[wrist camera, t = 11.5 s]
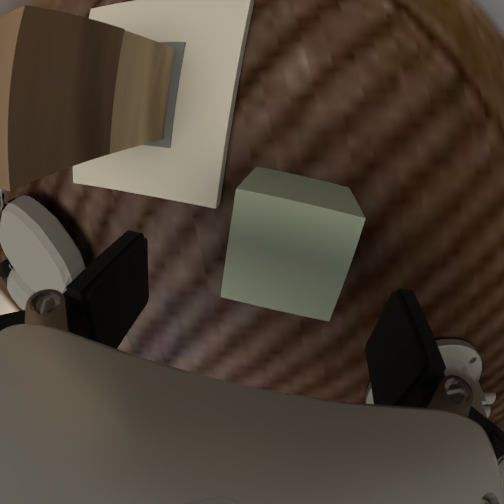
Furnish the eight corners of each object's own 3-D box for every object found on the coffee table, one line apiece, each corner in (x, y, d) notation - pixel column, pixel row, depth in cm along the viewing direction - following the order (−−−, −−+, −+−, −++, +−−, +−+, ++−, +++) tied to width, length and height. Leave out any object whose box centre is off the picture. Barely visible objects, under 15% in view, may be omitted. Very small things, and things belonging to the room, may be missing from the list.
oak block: (176, 49, 15) (123, 29, 10) (163, 139, 18) (108, 154, 12) (100, 53, 15) (38, 46, 10) (91, 133, 18) (30, 148, 13)
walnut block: (124, 29, 10) (25, 5, 4) (109, 154, 12) (10, 191, 7) (39, 46, 10) (-48, 47, 5) (31, 148, 13) (-53, 178, 8)
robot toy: (73, 326, 31) (115, 256, 24) (52, 350, 27) (83, 286, 20) (10, 256, 29) (31, 165, 21) (-14, 275, 25) (-5, 182, 17)
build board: (254, 1, 14) (250, -5, 13) (220, 204, 20) (215, 209, 19) (98, 11, 15) (89, 8, 14) (80, 179, 21) (71, 183, 20)
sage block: (349, 187, 18) (365, 218, 13) (325, 268, 21) (329, 321, 16) (257, 166, 19) (235, 188, 14) (242, 249, 22) (220, 296, 16)
